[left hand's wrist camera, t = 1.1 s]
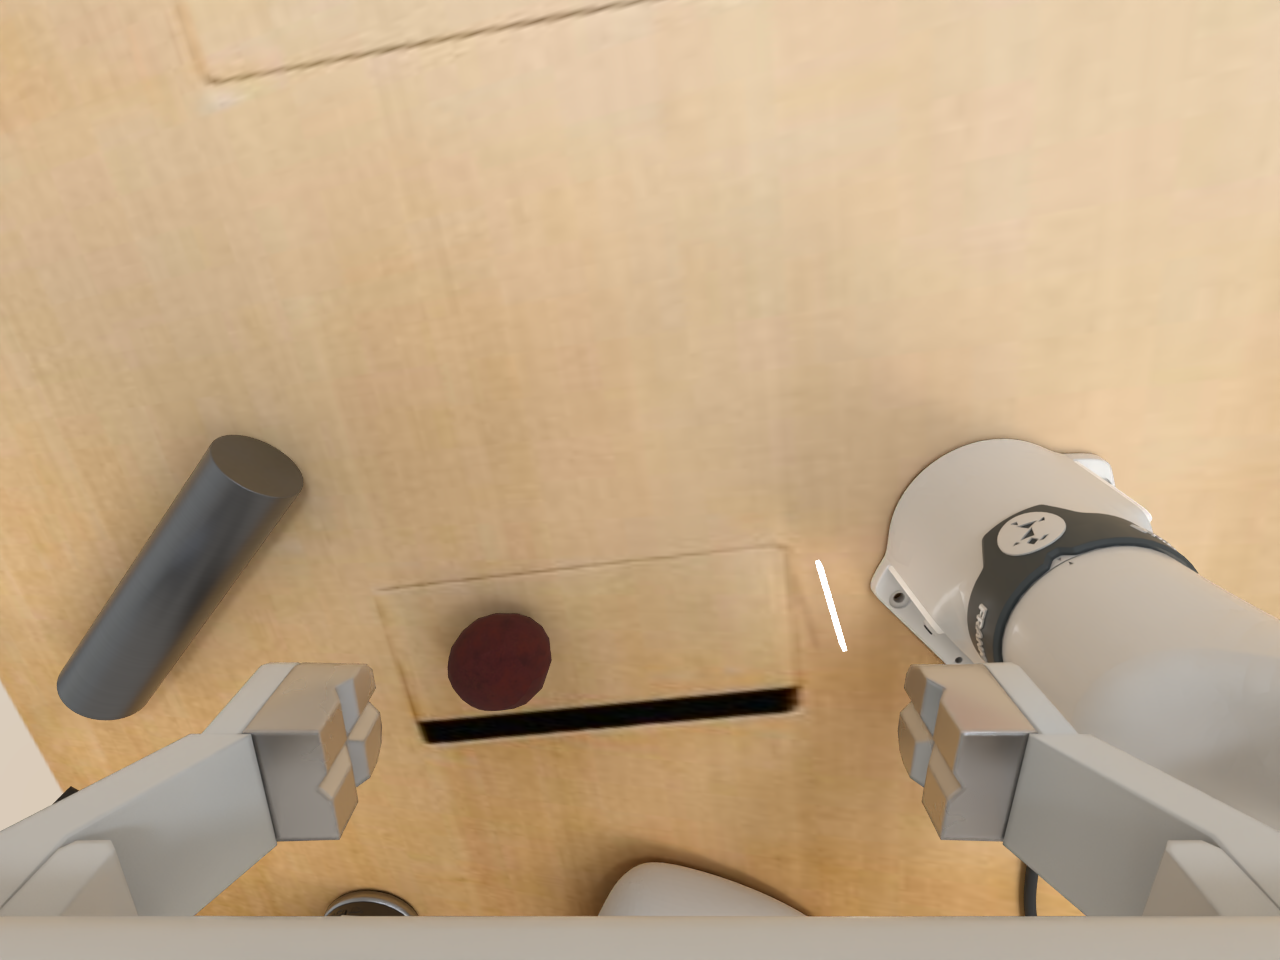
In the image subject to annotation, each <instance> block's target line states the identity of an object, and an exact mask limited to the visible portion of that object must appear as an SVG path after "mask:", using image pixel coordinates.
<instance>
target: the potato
mask: <svg viewBox="0 0 1280 960" xmlns="http://www.w3.org/2000/svg"><path fill="white" fill-rule="evenodd" d="M550 663H551V652H550V643H549V638H548V636H547V634H546V632H545V631H544V629H543V627H542V626H541V625H539V624H538V623H537V622H535V621H534V620H533V619H531V618H530V617H527V616H523V615H520V614H502V613H495V614H492V615H489V616H485V617H482V618H479V619H477V620H476V621H474V622H473V623H472V624H471V625H469V626H468V627H467V628H466V629H465V630H463V631H462V633H461V634H460V636H459V637H458V639H457V640H456V642H455V643H454V645H453V646H452V648H451V652H450V655H449V661H448V678H449V680H450V682H451V685H452V687H453V689H454V690H455V691H456V693H457V694H458V695H459V696H460V697H461V699H462V700H464V701H465V702H466V703H468V704H469V705H470V706H472V707H475V708H477V709H479V710H485V711H498V710H507V709H514V708H516V707H519V706H522V705H524V704H526V703H527V702H528V701H529V700H530V699H531V698H532V697H533V696H534V695H536V694H537V693H538V692H539V691H540V690H541V689H542V687H543V684H544V681H545V678H546V675H547V672H548V669H549V666H550Z"/></svg>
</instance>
